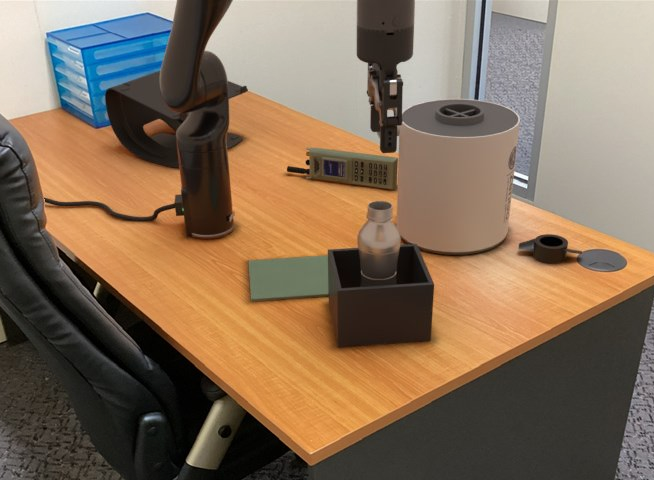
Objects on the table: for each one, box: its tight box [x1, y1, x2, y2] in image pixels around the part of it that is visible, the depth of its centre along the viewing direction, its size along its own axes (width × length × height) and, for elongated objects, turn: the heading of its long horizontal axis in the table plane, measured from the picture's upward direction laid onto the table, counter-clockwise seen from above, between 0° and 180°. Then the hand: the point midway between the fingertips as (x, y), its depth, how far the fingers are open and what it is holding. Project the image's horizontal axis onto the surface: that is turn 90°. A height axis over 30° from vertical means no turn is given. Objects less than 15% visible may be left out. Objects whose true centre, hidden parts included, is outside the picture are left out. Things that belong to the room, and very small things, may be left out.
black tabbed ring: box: [518, 233, 583, 265], centre depth 152 cm, size 8×10×3 cm
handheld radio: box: [286, 146, 399, 191], centre depth 182 cm, size 7×3×25 cm
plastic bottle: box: [356, 200, 402, 287], centre depth 130 cm, size 6×7×20 cm
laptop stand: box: [104, 69, 249, 169], centre depth 201 cm, size 26×24×16 cm
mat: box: [247, 254, 328, 302], centre depth 148 cm, size 20×14×1 cm
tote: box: [327, 243, 435, 348], centre depth 133 cm, size 14×13×10 cm
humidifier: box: [376, 98, 521, 256], centre depth 155 cm, size 22×21×23 cm
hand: (383, 141), depth 120 cm, fingers open, 8 cm apart
